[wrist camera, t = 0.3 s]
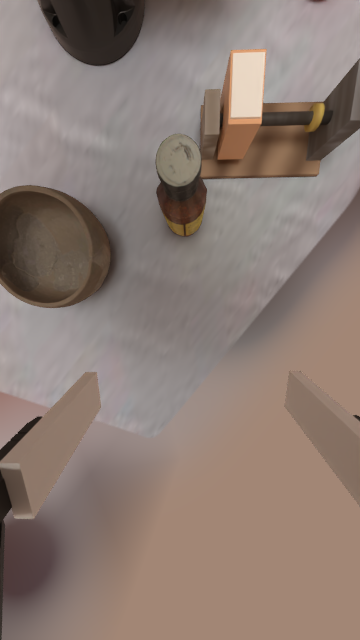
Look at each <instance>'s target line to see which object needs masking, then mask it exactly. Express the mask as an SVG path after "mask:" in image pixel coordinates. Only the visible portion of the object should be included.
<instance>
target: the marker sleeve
mask: <svg viewBox="0 0 360 640" xmlns="http://www.w3.org/2000/svg"><path fill="white" fill-rule="evenodd" d="M265 64H266V49H253V50H231V53H230V57H229V62H228V66H227V71H226V76H225V80H224V85H223V90H222V94H221V99H220V113H223V126H222V127H220V128H219V137H218V160H225V159H243V158H244V156H245V154H246V152H247V150H248V148H249V146H250V144H251V142H252V141H253V139H254V137H255V135H256V133H257V131H258V129H259V127H260V125H261V123H262V108H263V93H264V79H265Z"/></svg>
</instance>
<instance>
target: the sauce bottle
mask: <svg viewBox="0 0 360 640" xmlns="http://www.w3.org/2000/svg"><path fill="white" fill-rule="evenodd" d="M201 161H202V158H201V153H200V149H199V147H198V146H197V144H196V143H195V142H194V141H193V140H192V139H191V138H190V137H188V136H186V135H182V134H174V135H171V136H169V137H168V138H166V139H165V140H164V141H163V142H162V143H161V145H160V147H159V149H158V151H157V154H156V169H157V173H158V176H159V179H160V181H161V183H160V184H159V186H158V188H157V197H158V200H159V205H160V207H161V210H162V212H163V214H164V216H165V218H166V221H167V223H168V225H169V227H170V228H171V230H172V231H173V232H174V233H176V234H178V235H181V236H189V235H191V234H193V233H194V232H196V231H197V230H198V228H199V226H200V225H201V222H202V218H203V213H204V209H205V203H206V194H207V189H206V187H205V185H204V182H203V180H202V178H201V177H200V174H201V167H202V165H201V164H202V163H201Z"/></svg>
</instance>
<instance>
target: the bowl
mask: <svg viewBox="0 0 360 640" xmlns="http://www.w3.org/2000/svg"><path fill="white" fill-rule="evenodd" d="M110 259H111V252H110V245H109V240H108V237H107V235H106V232H105V230H104V229H103V227H102V225H101V224H100V222H99V221H98V220H97V218H96V217H95V216H94V215H93V213H92V212H91V211H90V210H89V209H88V208H87V207H85V206H84V205H83V204H82V203H80V202H79V201H78V200H76V199H75V198H73V197H71V196H69V195H67V194H65V193H63V192H60V191H58V190H54V189H51V188H46V187H40V186H32V185H27V186H17V187H13V188H11V189H8V190H6V191H4V192H2V193H1V194H0V284H1V285H2V286H3V287H4V288H5V289H6V290H7V291H8V292H9V293H11V294H12V295H13V296H15V297H16V298H18V299H20V300H21V301H23V302H26V303H28V304H31V305H34V306H38V307H44V308H60V307H67V306H71V305H74V304H76V303H79V302H81V301H82V300H84V299H86V298H87V297H89V296H90V295H92V294H93V293H94V292H96V291H97V290H98V289H99V288H100V287H101V285H102V283H103V281H104V279H105V277H106V276H107V274H108V269H109V265H110Z"/></svg>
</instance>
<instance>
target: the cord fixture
mask: <svg viewBox="0 0 360 640" xmlns="http://www.w3.org/2000/svg"><path fill="white" fill-rule="evenodd" d="M220 91H221V89H211V90H205V97H204V105H201V149H200V153H201V158H202V161H201V163H202V164H201V165H202V167H201V174H200V177H201V178H202V179H216V178H261V177H307V176H317V175H318V174H319V168H320V160H322V159H323V158H324V157H325V156H326V155H328V154H329V153H330V152H331V151H333V150H334V149H335V148H336V147H337V146H339V145H340V144H341V143H342V142H344V141H345V140H346V139H347V138H348V137H350V136H351V135H352V134H353V133H355V132H356V131H357V130H358V129H359V128H360V59H359V60H358V61H357V62H356V63H355V65H354V66H353V67H352V68H351V69H350V71H349V72H348V73H347V74H346V76H345V77H344V78H343V79H342V80H341V82H340V83H339V84H338V85H337V86H336V88H335V89H334V90H333V91H332V92H331V94H330V95H329V96H328V97H327V99H326V100H325V101H324V102H298V103H263V108H262V123H261V125H260V127H259V129H258V131H257V133H256V135H255V137H254V139H253V141H252V142H251V144H250V146H249V148H248V150H247V152H246V154H245V156H244V158H243V159H225V160H218V137H219V128H220V127H222V126H223V113H220Z"/></svg>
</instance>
